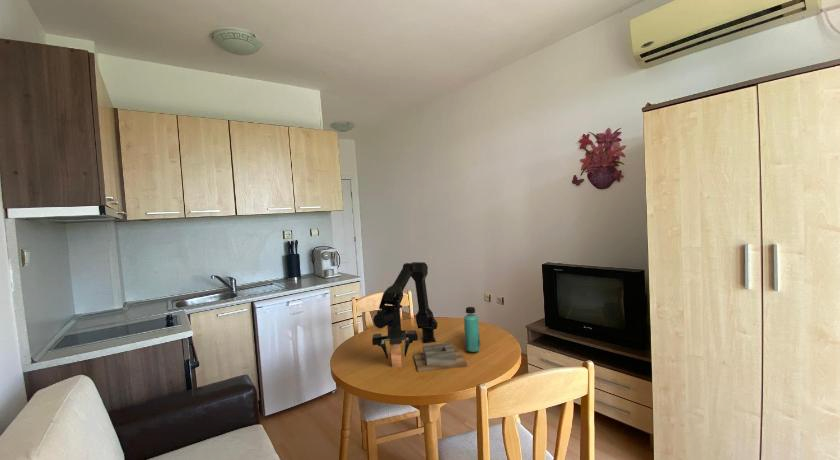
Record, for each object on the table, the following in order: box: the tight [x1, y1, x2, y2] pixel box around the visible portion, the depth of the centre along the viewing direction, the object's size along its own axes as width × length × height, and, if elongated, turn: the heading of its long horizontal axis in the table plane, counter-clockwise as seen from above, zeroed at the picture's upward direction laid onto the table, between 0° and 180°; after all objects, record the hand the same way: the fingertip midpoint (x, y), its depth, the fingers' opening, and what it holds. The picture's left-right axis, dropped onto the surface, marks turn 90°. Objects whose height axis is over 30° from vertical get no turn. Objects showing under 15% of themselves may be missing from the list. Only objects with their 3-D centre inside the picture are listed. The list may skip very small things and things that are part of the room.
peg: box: [390, 344, 403, 368], centre depth 147 cm, size 4×4×10 cm
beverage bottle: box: [463, 306, 481, 353], centre depth 154 cm, size 6×7×20 cm
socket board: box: [413, 342, 468, 373], centre depth 148 cm, size 16×20×5 cm
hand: (396, 357), depth 147 cm, fingers open, 7 cm apart
